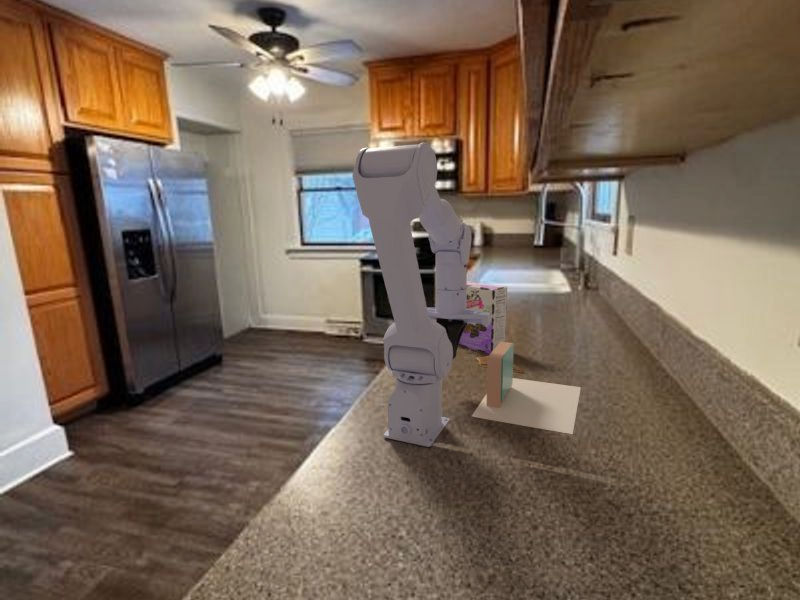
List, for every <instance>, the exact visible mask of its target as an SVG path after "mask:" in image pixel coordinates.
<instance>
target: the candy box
mask: <svg viewBox="0 0 800 600" xmlns="http://www.w3.org/2000/svg"><path fill="white" fill-rule="evenodd" d="M507 301H508V286H505V285H500V284H499V285H498V284H490V283H484V282H483V283H482V282H476V281H475V282H474V281H469V280H467V291H466V309H468V310H474V311H480V312H487V313H490V323H489V324H488V325H482V324H478V323H467V325H466V327H465V329H464V331H463V333H462V336H461V338H460V341H459V344H458V347H463V348H465V349H470V350H473V351H477V352H480V353H485V354H487V355H490V354H491V352H492V351H493V350H494V349H495V348H496V346H497V345H498V344H499V343H500V342H506V332H507V331H506V329H507V327H506V326H507V308H508V307H507V305H508V304H507V303H508V302H507Z"/></svg>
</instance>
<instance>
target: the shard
mask: <svg viewBox="0 0 800 600" xmlns="http://www.w3.org/2000/svg"><path fill="white" fill-rule="evenodd" d="M488 356H489V355H488ZM488 356H487V355H486V356H478V357H476V358H475V359H476V360H477V361H478V363H479V364H478V367H481V368H482V367H483V368H487V357H488ZM514 372H515V373H522V374H524V373H525V371H524V370H522V369H521V368H519V367H518V366H517V365H515V364H514V363H513V373H514Z"/></svg>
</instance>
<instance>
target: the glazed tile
mask: <svg viewBox="0 0 800 600" xmlns="http://www.w3.org/2000/svg"><path fill="white" fill-rule="evenodd" d="M514 346H515V344H514V343H513V342H508V341H505V342H500V343H499V344H498V345H497V346H496V348H495V349H494V350H493V351H492V352H491V354H488V357H487V367H486V394H487V406H491V407H497V408H500V407H501V405H502V404H503V402H504V400H505V398H506V396H507V395H508V393H509V391H510V389H511V387H512V384H513V378H514V376H513V375H514V371H513V364H514V351H515V350H514V349H515V347H514Z"/></svg>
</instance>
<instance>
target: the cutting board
mask: <svg viewBox="0 0 800 600" xmlns="http://www.w3.org/2000/svg"><path fill="white" fill-rule="evenodd" d="M581 389H582V387H580V386H574V385H566V384H558V383H553V382H551V383H550V382H545V381H544V382H543V381H537V380H531V379H521V378H517V377H513V384H512V387H511V389H510V391H509V393H508V395H507V396H506V398H505V400H504V402H503V404H502V405H501V407H500V408H497V407H491V406H487V393H486V394H485V395H484V397H483V398H482V400H481V402H480V403H479V404H478V406H477V407H476V409H475V410H474V412H473V414H472V415H471V417H472V418H479V419H483V420H489V421H493V422H499V423H507V424H512V425H517V426H524V427H528V428H534V429H541V430H546V431H550V432H557V433H563V434H567V435H574V430H575V424H576V417H577V414H578V413H577V412H578V406H579V400H580V395H581Z"/></svg>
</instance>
